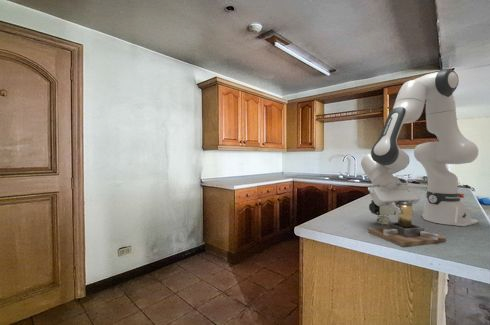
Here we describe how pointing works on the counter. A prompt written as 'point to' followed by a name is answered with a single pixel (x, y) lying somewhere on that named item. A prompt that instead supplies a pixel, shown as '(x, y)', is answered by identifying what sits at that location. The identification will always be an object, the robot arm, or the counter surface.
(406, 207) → the amber cylinder
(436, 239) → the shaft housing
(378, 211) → the pneumatic valve
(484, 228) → the counter surface
